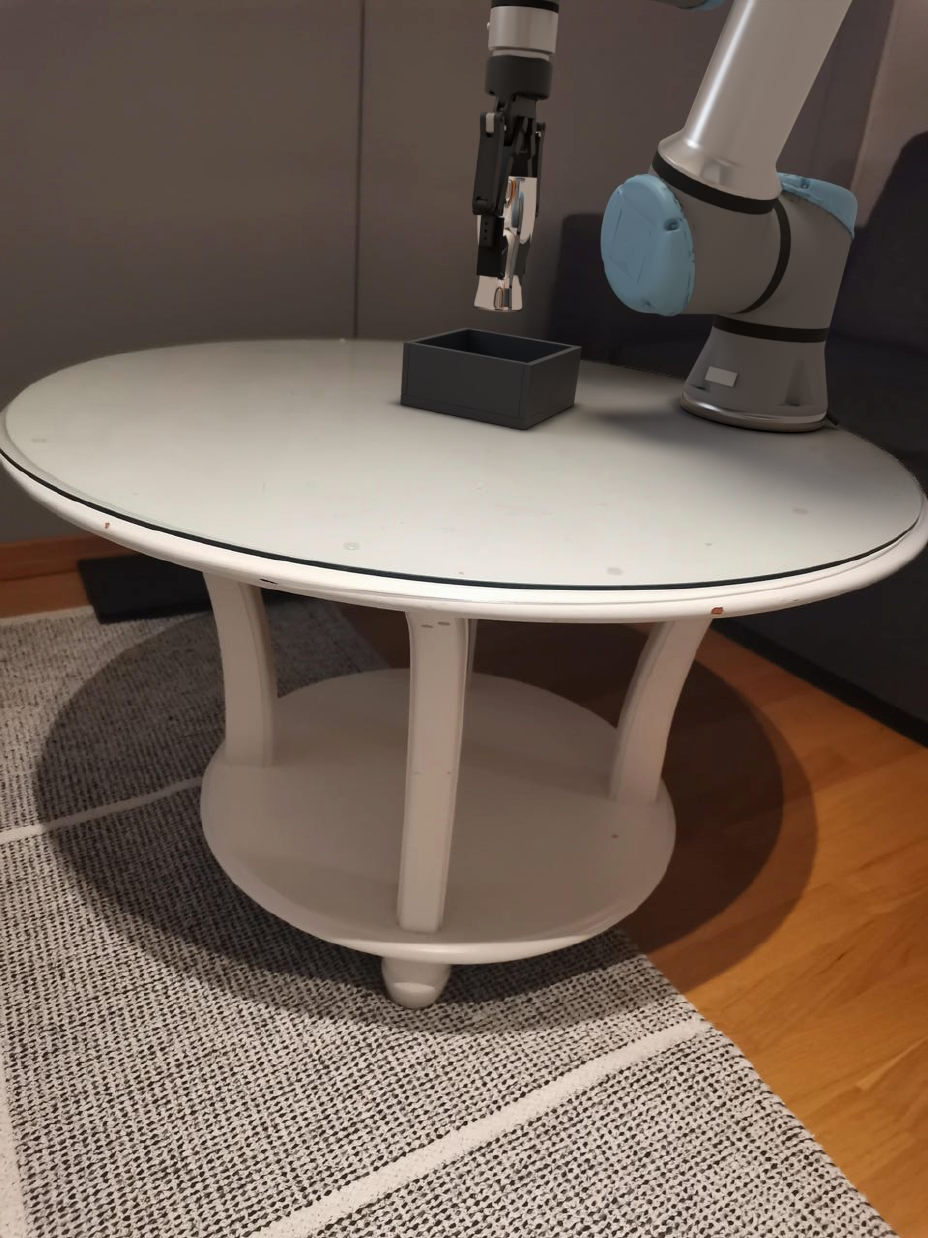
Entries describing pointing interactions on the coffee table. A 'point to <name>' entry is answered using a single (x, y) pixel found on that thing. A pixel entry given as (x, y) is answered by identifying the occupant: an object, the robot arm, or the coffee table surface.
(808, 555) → the coffee table surface
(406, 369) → the bin
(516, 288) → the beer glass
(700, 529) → the coffee table surface
